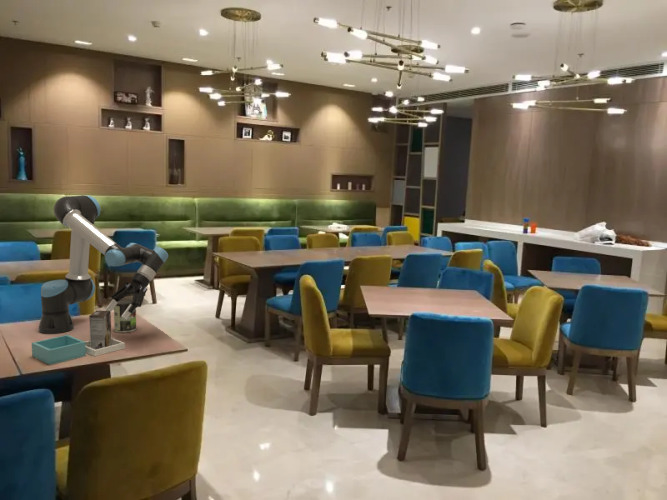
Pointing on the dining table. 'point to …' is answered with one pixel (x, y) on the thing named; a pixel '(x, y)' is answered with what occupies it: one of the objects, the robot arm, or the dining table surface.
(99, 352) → the collar
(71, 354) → the bin
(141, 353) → the dining table surface
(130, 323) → the coffee can
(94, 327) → the coffee box
